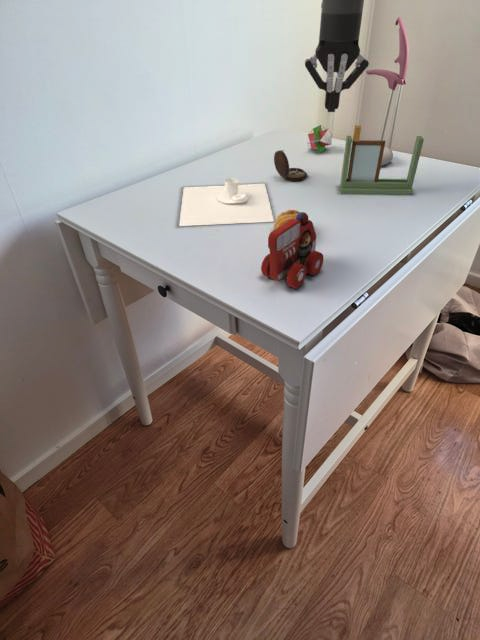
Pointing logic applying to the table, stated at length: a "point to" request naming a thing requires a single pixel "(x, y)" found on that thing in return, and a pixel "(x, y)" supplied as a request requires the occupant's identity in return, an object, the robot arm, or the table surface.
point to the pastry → (285, 217)
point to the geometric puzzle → (320, 138)
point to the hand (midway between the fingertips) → (331, 111)
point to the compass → (287, 168)
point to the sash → (365, 159)
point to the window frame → (383, 184)
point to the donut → (387, 156)
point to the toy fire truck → (292, 252)
